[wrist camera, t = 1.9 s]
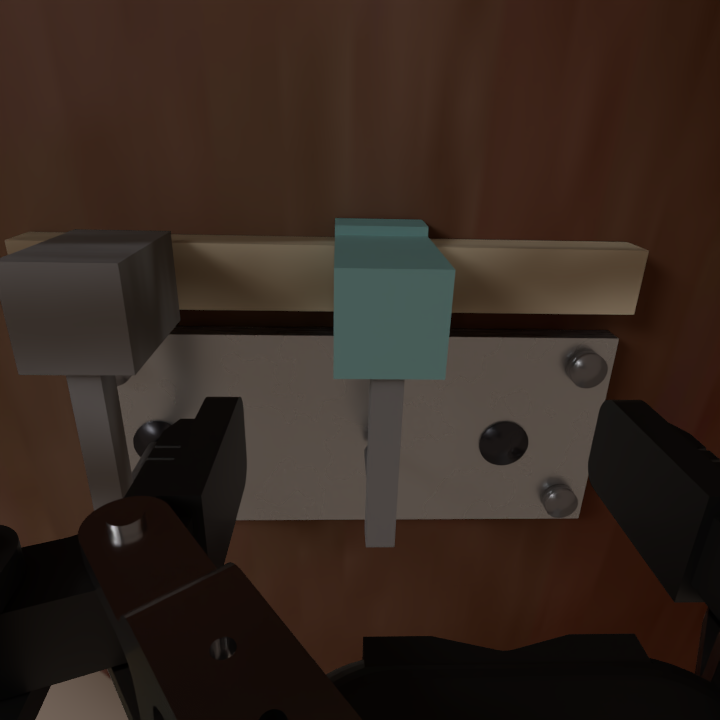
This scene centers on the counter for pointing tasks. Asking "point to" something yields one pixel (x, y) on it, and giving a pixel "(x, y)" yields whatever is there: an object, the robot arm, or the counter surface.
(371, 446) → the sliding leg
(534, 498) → the bolt plate
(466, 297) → the rail
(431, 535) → the counter surface
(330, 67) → the counter surface
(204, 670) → the robot arm
